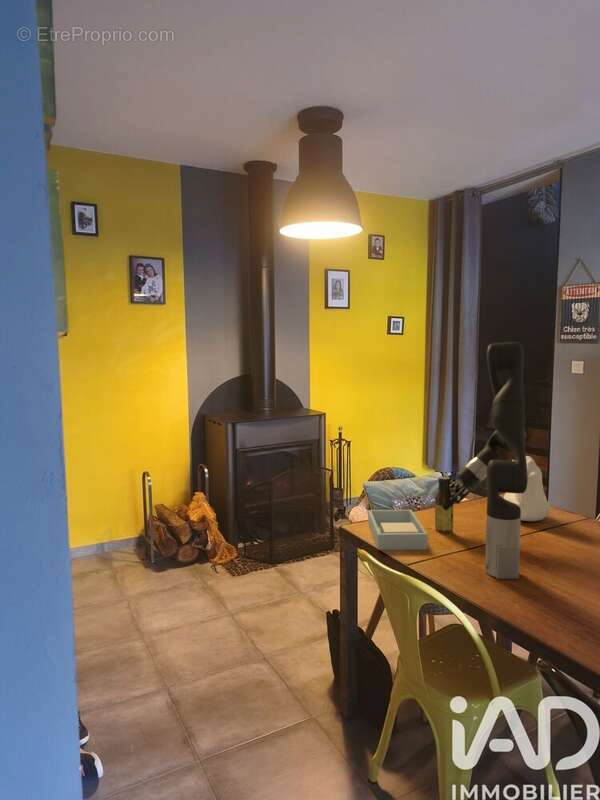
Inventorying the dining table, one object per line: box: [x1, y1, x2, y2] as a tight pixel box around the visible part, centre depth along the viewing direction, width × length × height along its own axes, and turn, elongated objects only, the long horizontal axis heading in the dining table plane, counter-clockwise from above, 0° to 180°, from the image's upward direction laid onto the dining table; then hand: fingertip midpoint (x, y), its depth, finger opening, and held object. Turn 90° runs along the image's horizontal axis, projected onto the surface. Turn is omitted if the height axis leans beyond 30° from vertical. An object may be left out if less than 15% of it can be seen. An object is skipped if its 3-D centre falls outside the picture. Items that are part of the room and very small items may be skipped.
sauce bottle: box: [434, 476, 454, 534], centre depth 189 cm, size 7×6×20 cm
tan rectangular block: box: [380, 523, 418, 533], centre depth 179 cm, size 9×11×5 cm
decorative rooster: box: [503, 455, 551, 522], centre depth 206 cm, size 25×16×25 cm, turn 167°
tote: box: [367, 509, 429, 551], centre depth 185 cm, size 26×16×6 cm, turn 0°
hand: (440, 504), depth 189 cm, fingers open, 8 cm apart
